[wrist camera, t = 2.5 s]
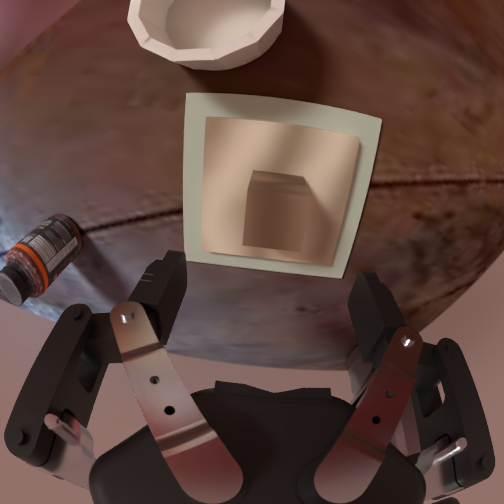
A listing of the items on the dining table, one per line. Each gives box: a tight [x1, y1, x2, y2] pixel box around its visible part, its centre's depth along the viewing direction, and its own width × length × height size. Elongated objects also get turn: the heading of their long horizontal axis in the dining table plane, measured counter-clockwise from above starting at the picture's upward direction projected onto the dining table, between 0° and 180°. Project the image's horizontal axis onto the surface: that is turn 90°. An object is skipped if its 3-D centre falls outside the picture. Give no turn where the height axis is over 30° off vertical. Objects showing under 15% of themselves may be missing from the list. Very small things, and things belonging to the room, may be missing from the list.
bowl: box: [127, 0, 285, 71], centre depth 13 cm, size 10×10×6 cm
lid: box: [202, 117, 360, 266], centre depth 20 cm, size 12×12×6 cm
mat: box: [183, 93, 382, 279], centre depth 23 cm, size 16×16×1 cm
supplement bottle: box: [0, 214, 82, 306], centre depth 22 cm, size 6×6×11 cm
